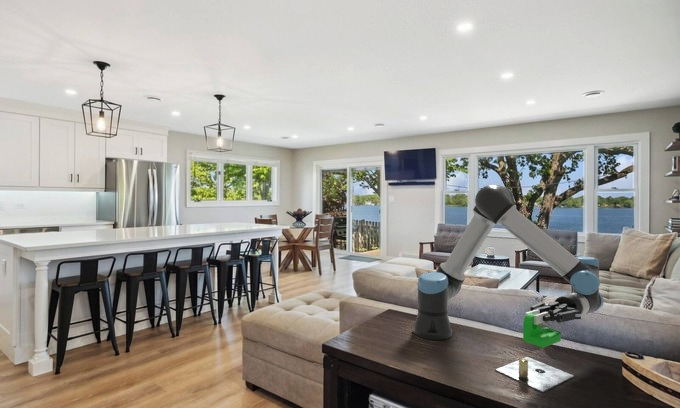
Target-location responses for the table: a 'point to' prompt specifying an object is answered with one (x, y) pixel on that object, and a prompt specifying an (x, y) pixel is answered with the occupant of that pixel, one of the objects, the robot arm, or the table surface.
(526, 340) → the mechanical part
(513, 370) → the bolt plate
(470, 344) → the table surface
